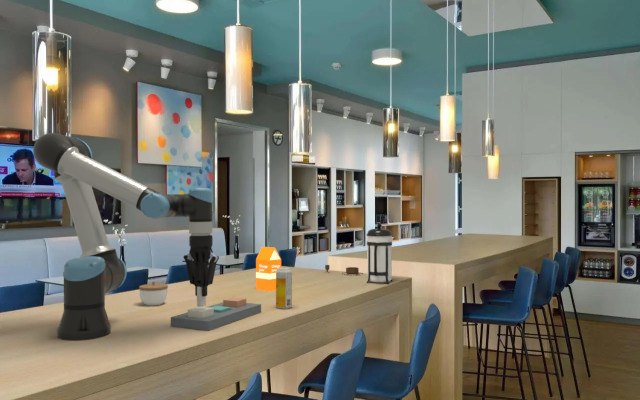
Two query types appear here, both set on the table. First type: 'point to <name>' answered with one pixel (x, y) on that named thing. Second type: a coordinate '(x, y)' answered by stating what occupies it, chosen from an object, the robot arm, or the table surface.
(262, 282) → the orange juice
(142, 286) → the lidded jar
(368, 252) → the coffee press
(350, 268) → the place setting
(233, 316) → the panel
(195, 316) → the cream button
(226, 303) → the terracotta button
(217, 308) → the teal button
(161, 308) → the table surface
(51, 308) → the table surface
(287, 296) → the beer can
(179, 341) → the table surface
